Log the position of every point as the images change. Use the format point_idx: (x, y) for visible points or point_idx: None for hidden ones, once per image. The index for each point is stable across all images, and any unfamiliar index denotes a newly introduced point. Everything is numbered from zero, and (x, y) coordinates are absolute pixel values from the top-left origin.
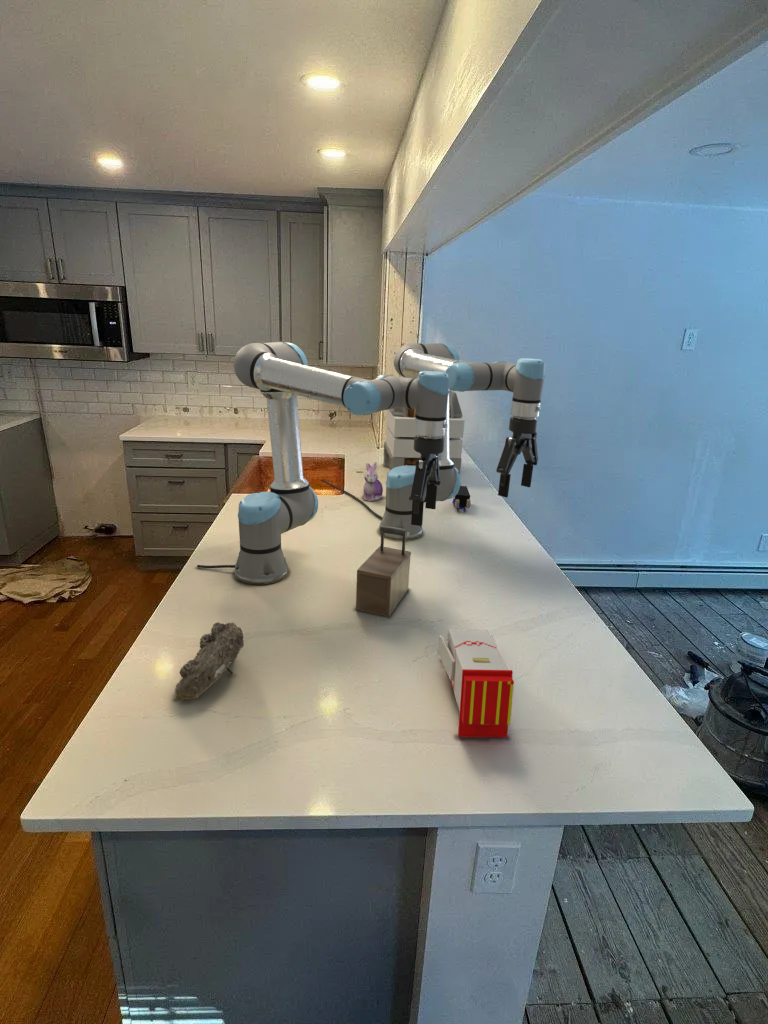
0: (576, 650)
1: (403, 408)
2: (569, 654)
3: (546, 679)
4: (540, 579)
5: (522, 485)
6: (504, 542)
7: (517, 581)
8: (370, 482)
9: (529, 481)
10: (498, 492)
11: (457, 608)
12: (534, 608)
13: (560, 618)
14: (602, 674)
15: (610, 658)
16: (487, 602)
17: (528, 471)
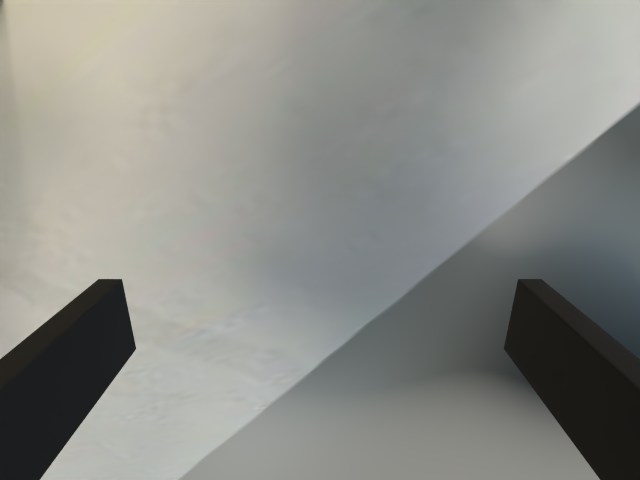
0: (141, 420)
1: None
2: (119, 417)
3: None
4: (375, 254)
5: (517, 293)
6: (589, 26)
7: (318, 216)
8: None
9: (532, 380)
10: (84, 293)
11: (59, 179)
12: (218, 309)
13: (224, 362)
14: (113, 466)
15: (167, 461)
16: (150, 218)
17: (605, 444)
